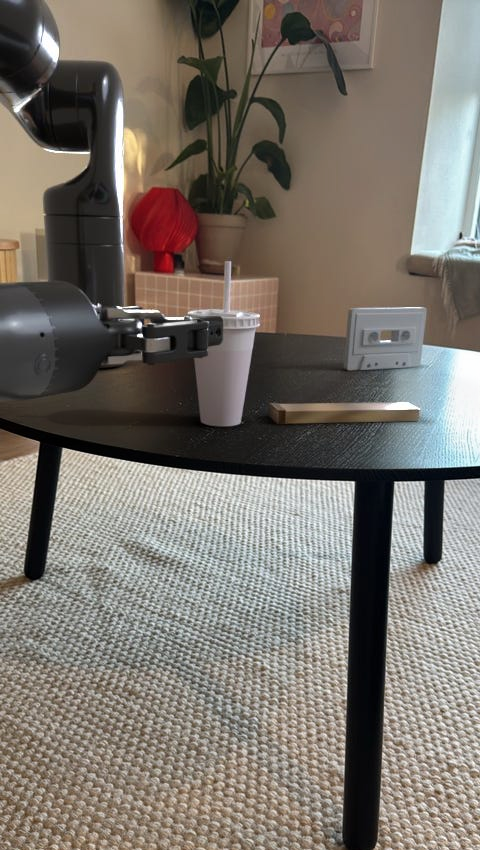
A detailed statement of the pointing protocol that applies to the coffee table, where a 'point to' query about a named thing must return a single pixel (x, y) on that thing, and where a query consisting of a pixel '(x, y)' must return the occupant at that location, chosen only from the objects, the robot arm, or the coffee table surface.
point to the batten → (343, 412)
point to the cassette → (384, 354)
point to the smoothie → (225, 363)
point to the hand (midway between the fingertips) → (178, 324)
